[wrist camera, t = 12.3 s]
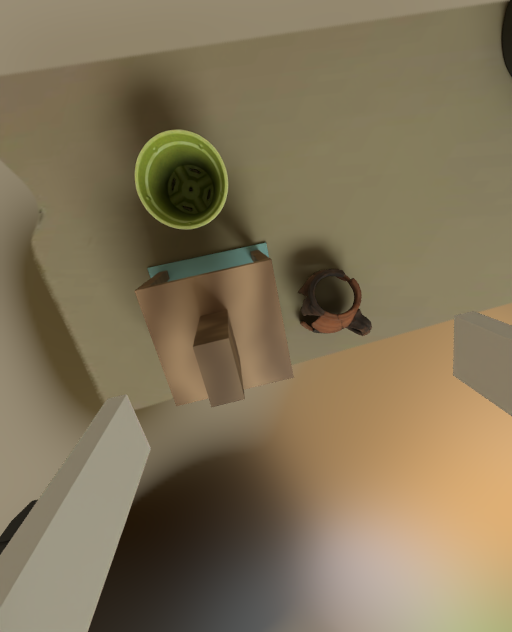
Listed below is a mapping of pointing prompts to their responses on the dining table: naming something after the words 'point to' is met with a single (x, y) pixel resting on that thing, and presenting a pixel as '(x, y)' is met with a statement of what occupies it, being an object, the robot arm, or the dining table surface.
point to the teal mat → (208, 262)
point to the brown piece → (217, 331)
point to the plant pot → (181, 179)
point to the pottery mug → (329, 320)
